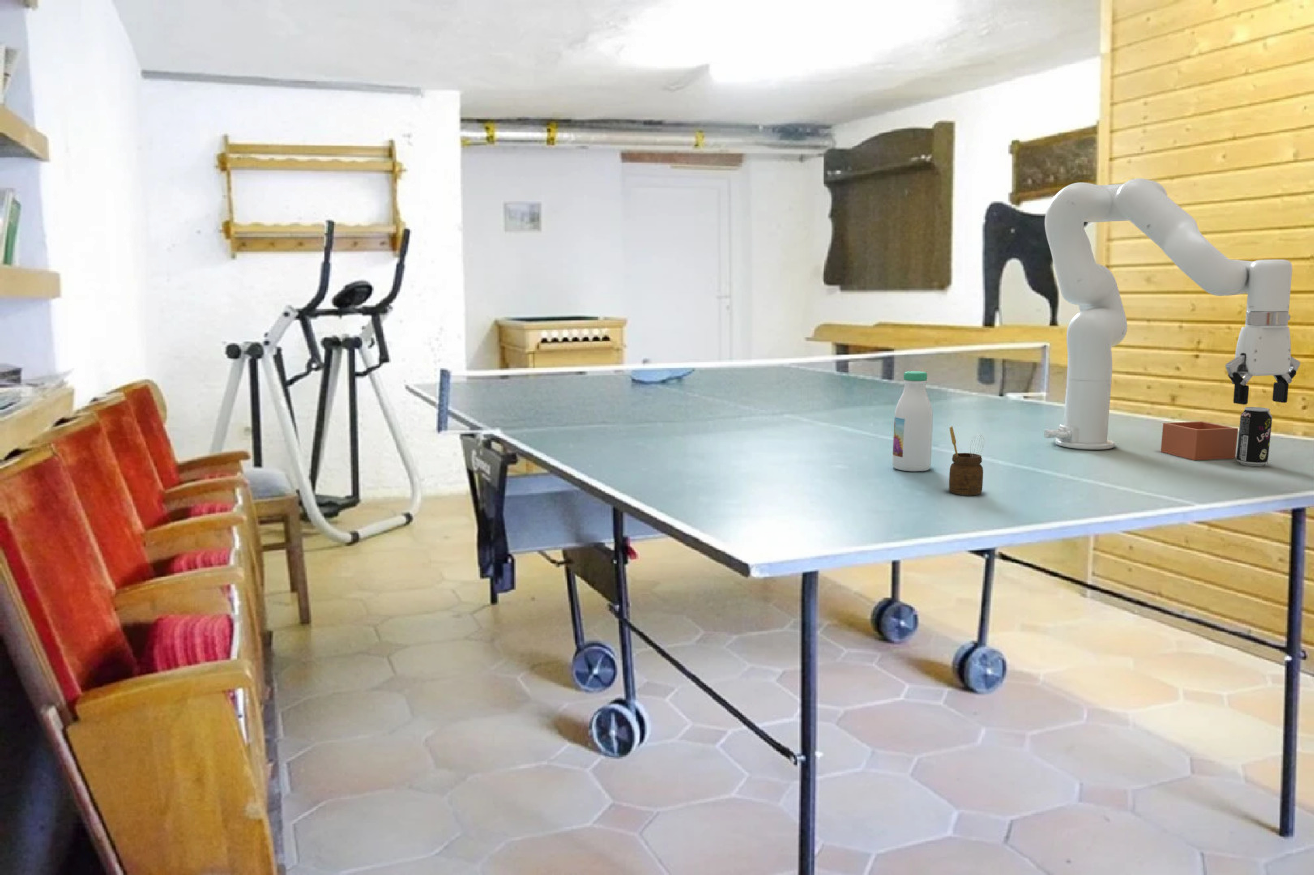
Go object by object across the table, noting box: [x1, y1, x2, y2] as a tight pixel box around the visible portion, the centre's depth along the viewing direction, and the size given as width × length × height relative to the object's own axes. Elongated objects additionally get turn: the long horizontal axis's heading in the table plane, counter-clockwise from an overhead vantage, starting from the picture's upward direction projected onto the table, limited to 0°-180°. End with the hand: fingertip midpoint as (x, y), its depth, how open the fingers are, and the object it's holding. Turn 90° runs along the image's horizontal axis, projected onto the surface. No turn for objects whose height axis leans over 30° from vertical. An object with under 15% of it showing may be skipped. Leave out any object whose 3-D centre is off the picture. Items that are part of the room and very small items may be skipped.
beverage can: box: [1235, 406, 1273, 467], centre depth 212 cm, size 6×6×12 cm
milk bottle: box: [891, 370, 934, 472], centre depth 207 cm, size 8×8×20 cm
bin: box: [1160, 420, 1239, 461], centre depth 224 cm, size 10×10×7 cm
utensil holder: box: [948, 426, 986, 496], centre depth 186 cm, size 6×6×12 cm
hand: (1260, 402), depth 211 cm, fingers open, 9 cm apart
